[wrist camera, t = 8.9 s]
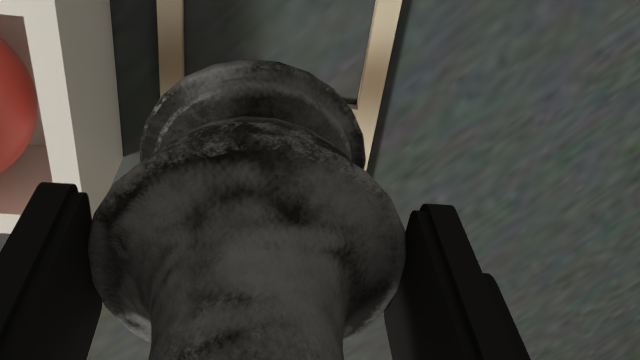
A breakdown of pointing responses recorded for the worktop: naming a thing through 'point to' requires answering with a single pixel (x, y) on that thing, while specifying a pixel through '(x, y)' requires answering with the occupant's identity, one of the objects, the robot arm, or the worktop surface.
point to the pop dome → (15, 106)
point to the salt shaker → (248, 222)
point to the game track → (373, 70)
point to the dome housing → (64, 100)
